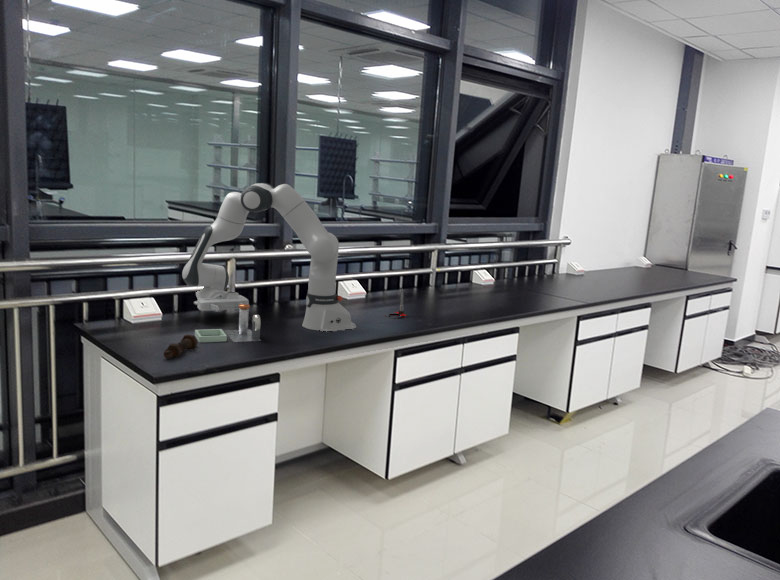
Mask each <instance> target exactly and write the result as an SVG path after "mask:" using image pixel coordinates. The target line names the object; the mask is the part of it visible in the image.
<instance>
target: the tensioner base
mask: <svg viewBox="0 0 780 580" xmlns="http://www.w3.org/2000/svg"><path fill="white" fill-rule="evenodd" d="M251 323H252V325H251V329H250V328H248V334H239V333H238V332H239V329H228V330H225V329H224V330H223V332H224V333H225V334H226V335H227V337H229V338H230V340H232V342H233V343H238V342H240V343H242V342H259V341H260V342H261V341H262V340H261V338H260V337H261V326H262V325H261V324H262V323H261V316H260V315H259V314H253V315H252V320H251Z"/></svg>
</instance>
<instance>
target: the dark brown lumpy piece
mask: <svg viewBox="0 0 780 580" xmlns="http://www.w3.org/2000/svg"><path fill="white" fill-rule="evenodd" d="M198 343H199V341H198V340H197V338H196V337H195V334H194V335H193V334H185V335H183V337H182V339H181V340H180V341H179V342H178V343H174V342H173V343H169V345H168V347H167V349H165V350H164V351H163V352H162V353H163V357H164V358H166V360H167V359H168V360H170V359H172V358H178V357H179V358H180V356H181V354H182V353H183V352H185V351H187V350H191V351H193V350H195V349H196V347H197V346H198Z"/></svg>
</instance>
